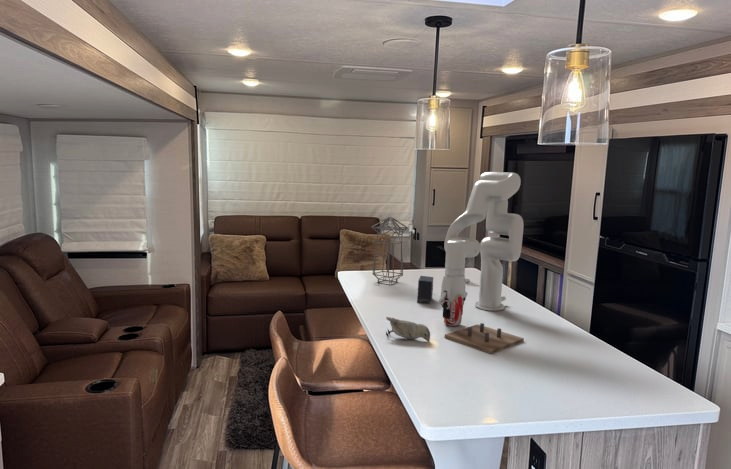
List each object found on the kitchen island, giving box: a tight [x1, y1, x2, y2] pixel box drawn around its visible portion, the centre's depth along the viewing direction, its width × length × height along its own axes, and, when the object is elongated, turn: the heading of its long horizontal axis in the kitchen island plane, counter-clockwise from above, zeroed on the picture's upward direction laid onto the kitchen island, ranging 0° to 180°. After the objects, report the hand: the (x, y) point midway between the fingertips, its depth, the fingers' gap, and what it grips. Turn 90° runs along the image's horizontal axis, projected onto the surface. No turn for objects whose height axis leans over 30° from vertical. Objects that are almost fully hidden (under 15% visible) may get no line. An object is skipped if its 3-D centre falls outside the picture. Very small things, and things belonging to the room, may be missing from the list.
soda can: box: [443, 296, 463, 327], centre depth 197 cm, size 7×7×12 cm
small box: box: [416, 275, 434, 304], centre depth 232 cm, size 11×6×10 cm, turn 168°
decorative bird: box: [385, 316, 431, 342], centre depth 180 cm, size 5×16×8 cm, turn 73°
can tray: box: [444, 322, 525, 355], centre depth 181 cm, size 20×20×4 cm
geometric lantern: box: [370, 216, 409, 286], centre depth 264 cm, size 16×16×35 cm
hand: (452, 315), depth 198 cm, fingers closed on soda can, 7 cm apart
